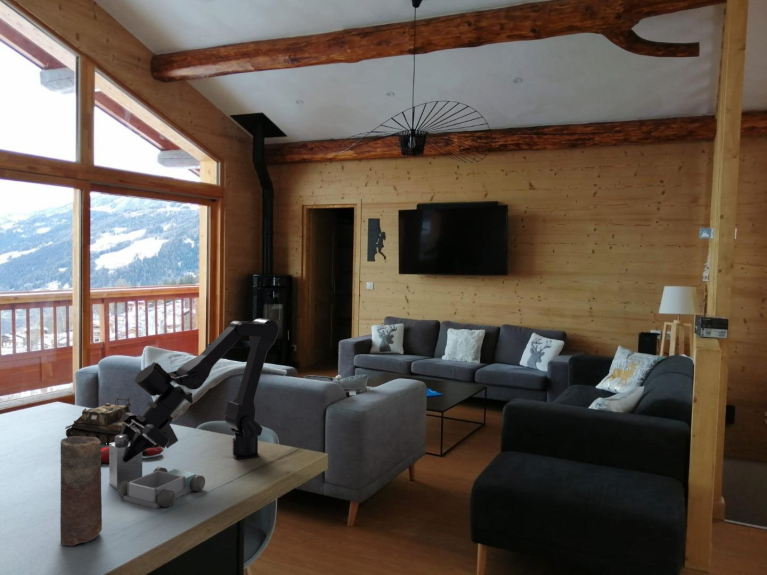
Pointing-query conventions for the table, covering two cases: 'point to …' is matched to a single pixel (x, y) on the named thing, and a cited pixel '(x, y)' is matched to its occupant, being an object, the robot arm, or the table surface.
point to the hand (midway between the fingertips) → (119, 458)
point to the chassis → (160, 487)
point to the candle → (80, 490)
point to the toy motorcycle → (144, 453)
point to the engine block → (118, 467)
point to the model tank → (100, 422)
